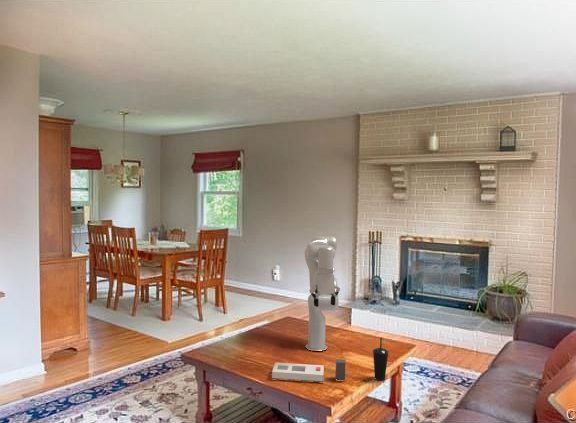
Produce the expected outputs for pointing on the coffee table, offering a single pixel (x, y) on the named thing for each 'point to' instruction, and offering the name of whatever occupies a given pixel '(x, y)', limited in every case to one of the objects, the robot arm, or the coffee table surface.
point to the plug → (340, 369)
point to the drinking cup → (380, 362)
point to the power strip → (298, 372)
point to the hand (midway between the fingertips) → (324, 305)
